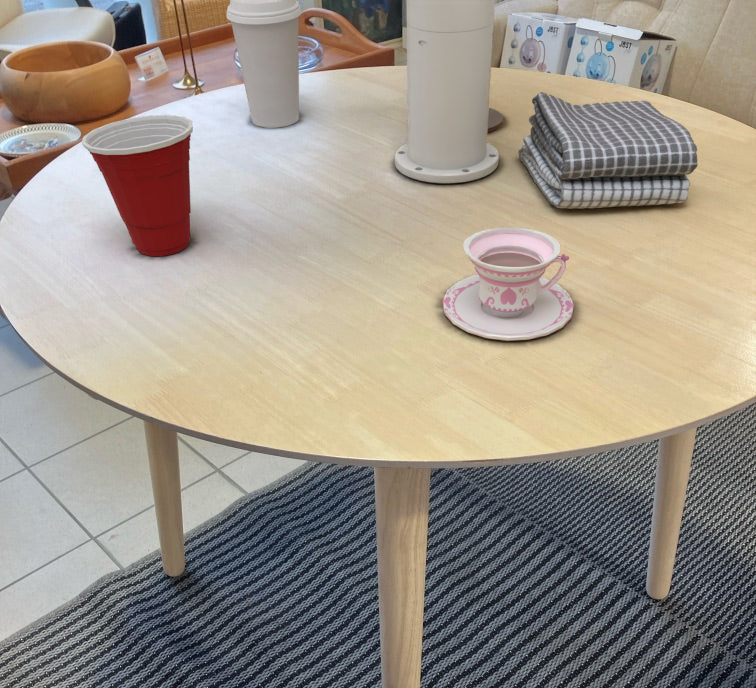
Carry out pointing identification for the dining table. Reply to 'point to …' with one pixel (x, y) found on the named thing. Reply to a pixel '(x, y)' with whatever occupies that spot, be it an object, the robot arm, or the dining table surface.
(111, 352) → the dining table surface
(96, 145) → the plastic cup
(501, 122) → the coaster
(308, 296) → the dining table surface
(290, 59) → the coffee cup
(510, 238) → the teacup
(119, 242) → the dining table surface
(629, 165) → the towel
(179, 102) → the dining table surface
